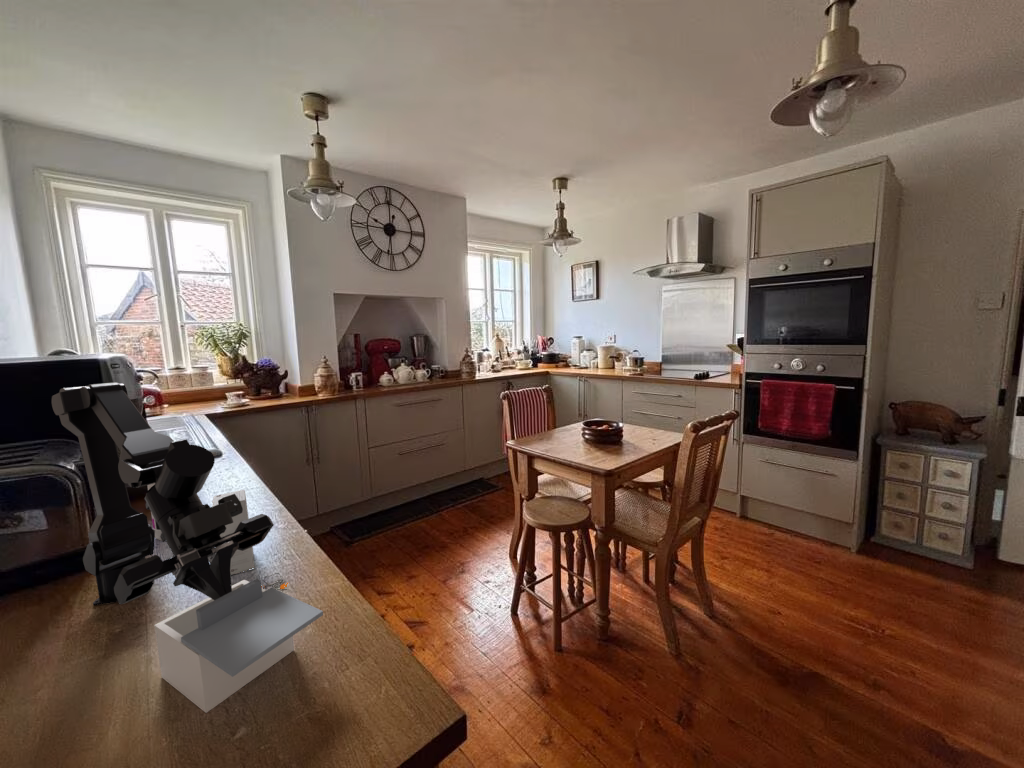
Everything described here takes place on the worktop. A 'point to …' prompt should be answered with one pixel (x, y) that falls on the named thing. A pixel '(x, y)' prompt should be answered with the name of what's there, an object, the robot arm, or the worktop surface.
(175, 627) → the mailer box
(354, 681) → the worktop surface
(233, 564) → the skincare box
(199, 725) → the worktop surface
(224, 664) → the lid
